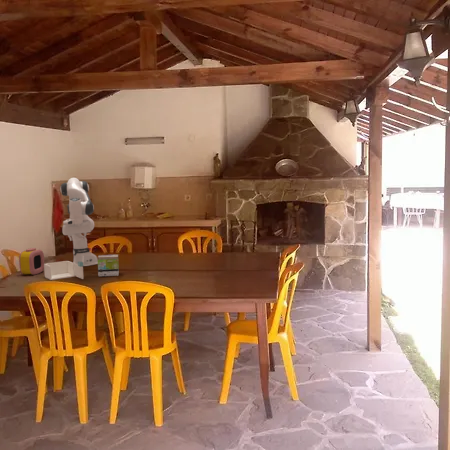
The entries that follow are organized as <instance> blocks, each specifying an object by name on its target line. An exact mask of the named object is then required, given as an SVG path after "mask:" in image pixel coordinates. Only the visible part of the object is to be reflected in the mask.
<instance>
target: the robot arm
mask: <svg viewBox="0 0 450 450" xmlns="http://www.w3.org/2000/svg"><path fill="white" fill-rule="evenodd" d="M59 188H60V189H59V191H60V193H61V195H62V196H64V197H68V198H69V202H68V204H67V206H66V207H67V213H68V214H69V218H67V219H65V220H63V221H62V222H63V225H62V234H63V235H64V236H67V237H68V238H69V241H70V242H71V241H72V245H73V248H72V254H73V263H75V264H77V265H78V262H80V261H81V262H83V266H82V267H89V266H94V265H98V256H97V255H96V254H94V252H93V253H92V247H89V246H88V239H87V235H88V233H91V232H92V231H93V230H94V228H95V221H94V220H93V219H92V218H91V217H89V216H90V215H92V214H93V213H94V212H95V211H94V210H95V205H94V203H93V202H92V200H91V198H90V195H89V190H90V186H89V184H88V181H86V180H85V181H84V180H82V181H81V180H80V179H78V178H76V177H71V178H69V179H68V180H67V182H63V183H61V184H60V187H59Z"/></svg>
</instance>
